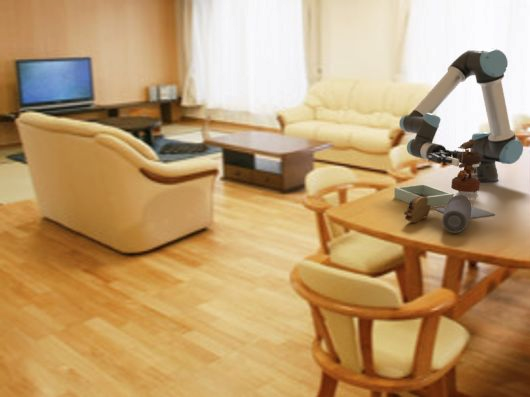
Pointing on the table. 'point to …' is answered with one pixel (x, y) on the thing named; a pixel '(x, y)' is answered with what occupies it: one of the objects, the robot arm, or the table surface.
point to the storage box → (434, 194)
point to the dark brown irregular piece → (467, 169)
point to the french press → (470, 194)
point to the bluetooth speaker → (457, 214)
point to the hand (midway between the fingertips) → (469, 161)
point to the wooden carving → (417, 209)
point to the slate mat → (473, 212)
